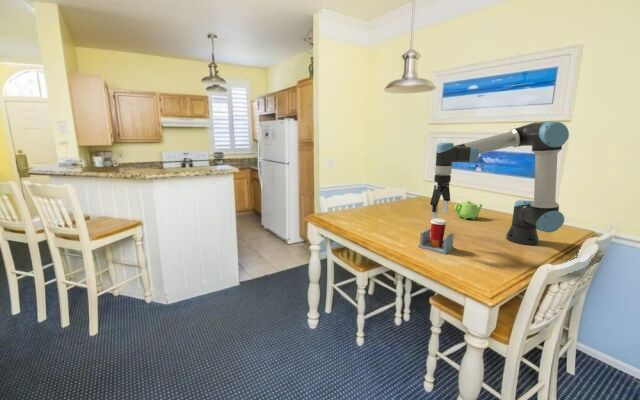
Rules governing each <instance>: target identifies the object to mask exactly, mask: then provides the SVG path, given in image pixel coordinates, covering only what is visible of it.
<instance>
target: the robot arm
mask: <svg viewBox="0 0 640 400" xmlns="http://www.w3.org/2000/svg"><path fill="white" fill-rule="evenodd" d="M569 132H570V131H569V129H568V127H567V125H565V124H564V123H562V122H561V121H552V120H551V121H541V122H532V123H527V124H525V125H522V126H519V127H515V128H512V129H510V130H509V131H508V132H505V133H500V134H497V135H492V136H489V137H484V138H480V139H477V140H471V141H468V142H465V143H461V144H457V145H454V143H453V142H439V143H438V144H437V146H436V152H435V154H436V155H435V165H434V166H435V167H434V174H435V175H434V179H433V180H434V181H433V182H434V183H437V184H435V185H433V192H432V196H431V199H430V203H429V205H431V215H430V216H431V217H430V218H431V219H438V213H439V205H438V204H439V203H440V199H441V196H442V199H443V200H442V202H441V204H442V205H441V213H442V214H448V210H449V209H448V208H449V202H451V192H450V183H451V181H452V180H451V179H452V169H453V163H469V164H470V163H475V162H477V161H478V160H479V158H480V157H479V156H480V155H481V154H486V153H489V152H493V151H497V150H502V149H506V148H509V147H513V148H518V147H523V146H525V147H528V146H529V147H531V152H532V153H533V154H534V155H535V156H534V158H535V159H534V160H535V161H534V162H535V163H534V194H533V200H526V199H525V200H524V199H522V200H516V201H515V203H514V204H513V213H512V218H511V220H512V221H511V226H510V227H509V229H508V231H507V233H506V236H505V239H506V240H508V241H509V242H511V243H514V244H520V245H527V246H534V245H535V246H536V245H538V244H539V236H538V235H539V234H538V231H540V232H544V233H553V232H557V231H558V230H559V229H560V228H561V227H562V226H563V225H564V224H565V216H564V214H563V213H562V212H561V211H560V205H559V203H558V202H557V201H556V198H557V196H556V193H557V176H558V174H557V172H558V154H559V153H560V152H561V151H562V150H563V145H565V144H566V142H567V141H568V139H569V137H570V133H569ZM537 230H538V231H537Z"/></svg>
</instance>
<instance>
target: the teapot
mask: <svg viewBox="0 0 640 400" xmlns="http://www.w3.org/2000/svg"><path fill="white" fill-rule="evenodd" d="M482 207H483V204H482V203H479V204H478V205H477V204H476V203H473V202H472V201H470V200H466V201H465V202H460V203H455V205H454V208H453V211H454V212H456V215H457V216H458V218H463V220H465V221H466V220H467V219H470V220H473V221H475V220H476V218H478V217H479V215H480V211H481V210H482Z"/></svg>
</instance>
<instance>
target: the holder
mask: <svg viewBox="0 0 640 400" xmlns="http://www.w3.org/2000/svg"><path fill="white" fill-rule="evenodd" d="M454 235H455V233H451V232H450V234H448V235H446V236H444V238H443V244H442V247H441V248H435V247H432V246H431V227H430V228H429V227H428V228H426V229H425V230H423V231H421V232H420V237H419V244H418V246H417V248H421V249H422V250H423V249H424V250H426V251H427V250H428V251H430V252H431V251H432V252H435V253H438V254H443V255H446V254H448V253H449V252H450V251H452V250H454V247H455V246H454V237H455V236H454Z"/></svg>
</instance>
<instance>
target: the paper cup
mask: <svg viewBox="0 0 640 400" xmlns="http://www.w3.org/2000/svg"><path fill="white" fill-rule="evenodd" d="M446 225H447V220H446V219H443V218H437V219H435V218H431V220H430V229H431V232H430V237H431V246H432V247H435V248H441V247H442V244H443V240H444V238H445V230H446Z"/></svg>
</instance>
